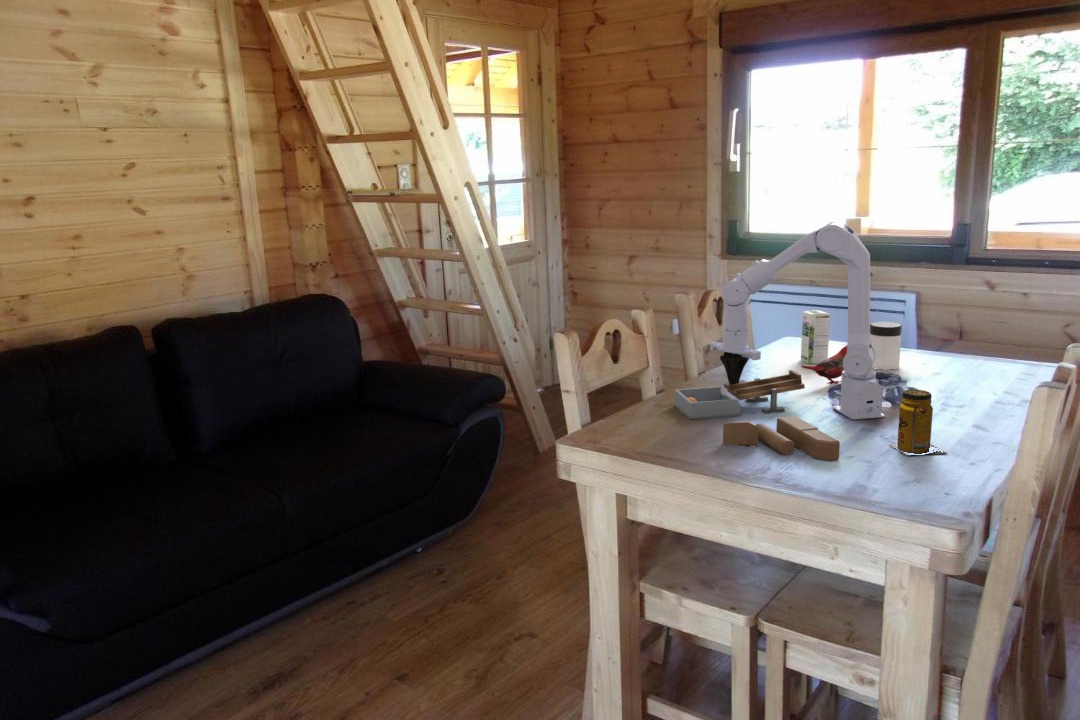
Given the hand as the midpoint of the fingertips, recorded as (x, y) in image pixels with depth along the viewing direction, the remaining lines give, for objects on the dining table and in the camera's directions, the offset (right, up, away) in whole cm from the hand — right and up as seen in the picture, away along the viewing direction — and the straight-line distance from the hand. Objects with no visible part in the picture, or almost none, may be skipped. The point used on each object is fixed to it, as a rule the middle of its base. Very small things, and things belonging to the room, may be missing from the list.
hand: (733, 383), depth 204 cm
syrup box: (+32, +5, +37) cm, 49 cm away
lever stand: (+7, -5, -4) cm, 9 cm away
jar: (+48, +4, +28) cm, 56 cm away
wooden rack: (+6, -1, -3) cm, 7 cm away
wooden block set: (+1, -13, -34) cm, 36 cm away
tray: (-8, -6, -6) cm, 11 cm away
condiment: (+29, -12, -36) cm, 48 cm away
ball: (-12, -5, -7) cm, 14 cm away
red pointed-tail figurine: (+27, -1, +12) cm, 30 cm away
